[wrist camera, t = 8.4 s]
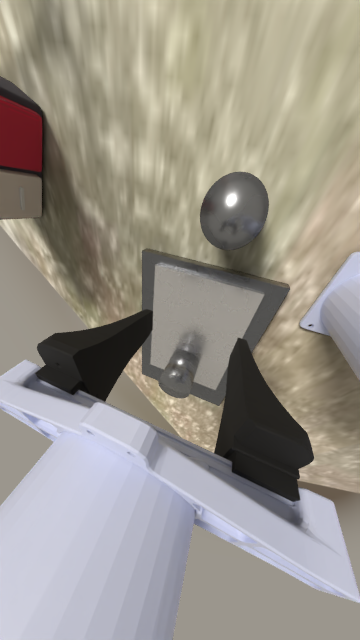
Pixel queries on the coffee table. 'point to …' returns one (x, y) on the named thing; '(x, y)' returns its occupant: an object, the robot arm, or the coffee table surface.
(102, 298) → the coffee table surface
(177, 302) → the pan
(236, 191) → the cylinder
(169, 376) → the cylinder
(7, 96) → the grey and red box
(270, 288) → the base
